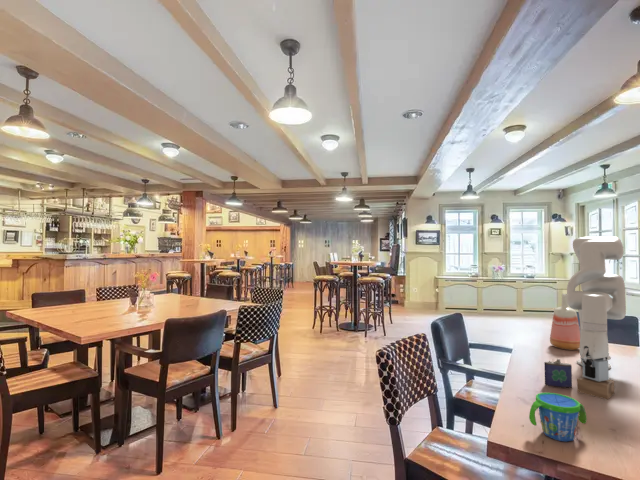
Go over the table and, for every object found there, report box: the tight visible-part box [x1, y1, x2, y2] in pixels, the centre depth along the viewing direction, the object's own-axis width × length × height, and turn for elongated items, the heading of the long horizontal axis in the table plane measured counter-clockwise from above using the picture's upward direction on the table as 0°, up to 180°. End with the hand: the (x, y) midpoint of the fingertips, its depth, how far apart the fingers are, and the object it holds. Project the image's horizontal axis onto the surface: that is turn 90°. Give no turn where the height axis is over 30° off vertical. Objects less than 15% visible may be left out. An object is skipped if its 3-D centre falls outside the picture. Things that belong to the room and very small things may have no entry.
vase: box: [549, 293, 580, 351], centre depth 196 cm, size 14×14×30 cm
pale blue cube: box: [581, 357, 610, 382], centre depth 133 cm, size 6×6×7 cm
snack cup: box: [528, 392, 588, 442], centre depth 101 cm, size 16×10×10 cm
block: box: [576, 375, 616, 400], centre depth 133 cm, size 9×9×5 cm
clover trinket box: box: [543, 358, 573, 389], centre depth 139 cm, size 9×3×11 cm, turn 74°
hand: (595, 375), depth 133 cm, fingers closed on pale blue cube, 5 cm apart
